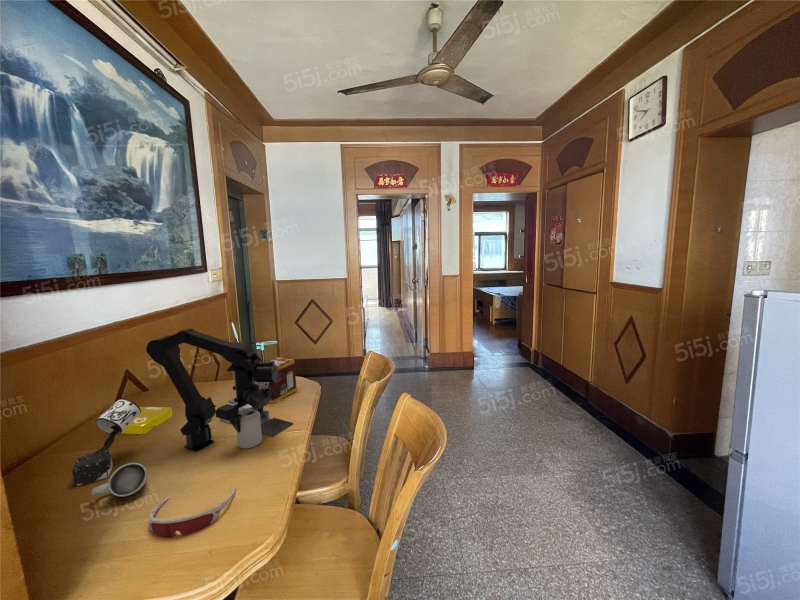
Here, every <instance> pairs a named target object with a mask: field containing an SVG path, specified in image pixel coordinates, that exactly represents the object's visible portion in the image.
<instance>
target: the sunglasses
mask: <svg viewBox="0 0 800 600" xmlns="http://www.w3.org/2000/svg"><path fill="white" fill-rule="evenodd" d="M236 488H237V486H236V484H235V485H234V487H233V490H232V492H231V493H230V495H229V496H228V497H227V498H226V499H225V500H223V501H222V502H221V503H219V504H218V505H216V506H212V507H211V508H209V509H207V510H204V511H202V512H199V513H196V514H192V515H189V516H184V517H179V518H170V519H160V518H156V517H155V515H156V513H157V512H158V510H159V509H160V508H161V507H162V506H163V505H164V504H165V503H166V502H168V500H169V499H170V498H171V497H172V496H170V495H169V496H168V497H166V498H165V499H164V500H162V501H161V502H160V503H159V504H158V505H157V506H156V507H154V508H153V509H152V511H151V512H150V514H149V518H148V526H149V529H150V531H151V532H152V533H153V534H155V535H156V536H158V537H161V538H162V537H163V538H173V537H174V535H175V534H176V532H179V533H180V534H181V535H183V536H188V535H190V534H192V533H196V532H199V531H200V530H202V529H204V528H206V527H207V526H210V525H212V523H215V522H217V521H218V519H219V517H220V514H221V511H223V510H224V508H226V507H227V506H228V505H229V503H230V501H231V500H232V499H233V496H234V495H235V492H236Z"/></svg>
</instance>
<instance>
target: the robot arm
mask: <svg viewBox="0 0 800 600" xmlns="http://www.w3.org/2000/svg"><path fill="white" fill-rule="evenodd" d="M181 344H186V345H187V344H188V345H189V346H192V347H196V348H199V349H202V350H205V351H207V352H211V353H214V354H217V355H220V356H221V357H222V358H223V359H224V360H225V361H227V362H229V363H231V364H230V366H229V367H228V368H226V372H233V375H234V386H232V390H233V391H235V395H236V397H234V398H233V399H234V401H235V402H237V404H235V405H229V404H224V405H221V406H220V407H217V405H215V404H214V402H213V399H212V398H211V397H210V396H209V397H207V398H205V397H204V396H202V394H200V392H199V390H198V389H197V387H196V384H195V382H194V381H193V380H192V377H191V376H190V374H189V372H188V371H187V368H186V367H185V366H184V364H183V362H182V359H181V348H180V345H181ZM145 351H146V353H147V355H148V356H149V357H150V358H151V360H152V361H154V362H155V363H157V364H158V365H159V366H161V367H163V369H164V370H165V371H166V374H167V376H168V377H169V379H170V381H171V382H172V384H173V386H174V387H175V390H176V391H177V392H178V394H179V396H180V398H181V400H182V402H183V403H184V408H185V409H184V415H185V416H184V417H186V418H185V419H186V421H187V422H186V423H184V425H183V426H182V427H181V428H180V432H181V434H182V436H185V440H186V445H184V446H183V448H185V449H187V450H190V451H192V452H195V453H196V452H199V451H201V450H203V449H205V448H206V447H208V446H210V445H212V444H214V442H215V440H213V439H212V428H211V427H210V424H209V423H211V422H212V419H213V418H214V417H215V418H218V419H220V418H221V419H224V420H229V421H230V422H231V424H230V425H232V427H233V428H234V430H235V431H236V433H237V432H240V417H241V416H242V415H241V414H238V413H239V409H241V408H243V407H245V406H247V405H251V406H252V407H253V408H254V409H256V410H258V412H259V413H260V418H261V415H262V411H263V410H264V408H265V407H266V406H267V405H268V404H269V403H268V402H269V401H270V399H271V398H273V397H274V392H273V390H272V389H270V388H263V387H262V388H260V389H258V385H257V384H255V383H254V381H256V382H275V381H276V380H277V376H278V368H277V366H276V365H275V361H270V360H268V361H269V362H267V361H262V358H261V357H260V356H259V355H258V354H257V353H256V351H254V348H253V346H252V345H251V344H249V343H245V342H240V341H239V342H238V341H237V342H236V341H227V340H224V339H221V338H217V337H215V336H212V335H209V334H207V333H203V332H201V331H198V330H195V329H194V328H190V327H187V328H184V329H182V330H179V331H178V332H176V333H174V334H171V335H168V334H167V335H162V336H160V337H158V338H155V339H152V340H150V341H148V343H147V344H146V347H145ZM216 407H217V409H216Z"/></svg>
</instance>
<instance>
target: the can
mask: <svg viewBox="0 0 800 600" xmlns="http://www.w3.org/2000/svg"><path fill="white" fill-rule="evenodd" d="M238 414H241V415H242V416H241V417H240V432H237V431H236V437H237V438H236V439H237V446H238V448H241V449H245V450H246V449H252V448H254V447H257V446H258V445H259V444H261V443H262V441H263V436H262V435H263V434H262V432H261V421H260V413H259V412H258V410H256V409H254V408H245V409H243V410H240V411H239V413H238Z"/></svg>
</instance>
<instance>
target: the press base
mask: <svg viewBox="0 0 800 600" xmlns="http://www.w3.org/2000/svg"><path fill="white" fill-rule="evenodd" d="M219 419H220V421H221V422H223V423H225V424H226V423H227V424H230V425H232V424H231V422H230V421H229V420H224V419H221V418H219ZM260 421H261V432H262V435H265V436H268V437H271V438H274V437H275V436H277V435H279V434H280V433H282V432H284V431H285V430H286V429H289V427H292V426H293V425H294V423H293V422H291V421H288V420H283V419H280V418H277V417H273V418H270V411H269V410H266V409H263V411H262V417H261V418H260Z"/></svg>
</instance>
